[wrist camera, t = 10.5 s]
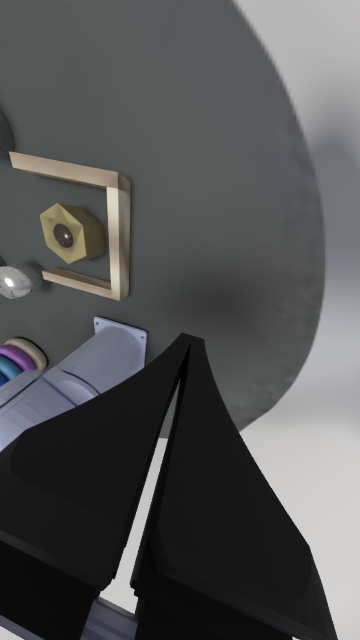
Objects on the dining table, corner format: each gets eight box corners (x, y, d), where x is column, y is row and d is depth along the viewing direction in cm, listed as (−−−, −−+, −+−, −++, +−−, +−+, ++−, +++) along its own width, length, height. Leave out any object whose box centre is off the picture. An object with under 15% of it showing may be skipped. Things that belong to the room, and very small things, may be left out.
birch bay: (128, 295, 19) (119, 300, 17) (58, 275, 20) (43, 279, 19) (130, 180, 14) (117, 172, 12) (33, 161, 15) (8, 151, 13)
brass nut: (106, 264, 18) (87, 269, 15) (73, 255, 18) (49, 258, 16) (103, 212, 15) (79, 207, 13) (65, 203, 16) (34, 197, 13)
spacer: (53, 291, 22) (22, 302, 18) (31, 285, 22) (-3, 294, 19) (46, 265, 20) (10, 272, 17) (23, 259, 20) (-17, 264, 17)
